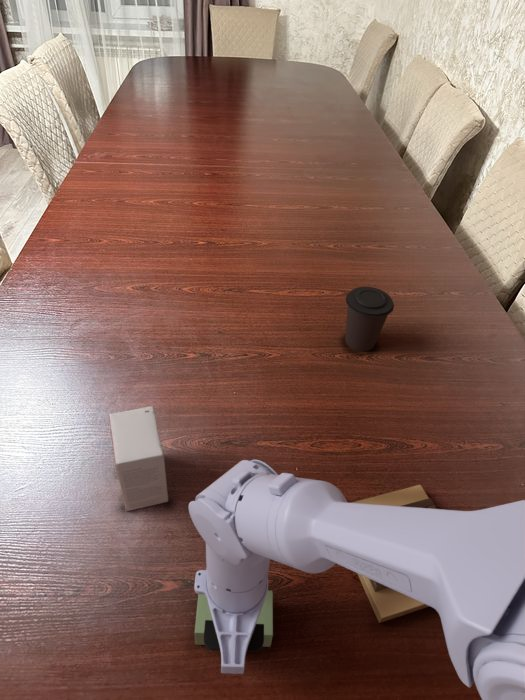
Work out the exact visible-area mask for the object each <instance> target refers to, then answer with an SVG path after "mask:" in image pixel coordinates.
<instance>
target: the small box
mask: <svg viewBox="0 0 525 700" xmlns="http://www.w3.org/2000/svg"><path fill="white" fill-rule="evenodd" d="M155 413H156V412H155V408H154V406H153V405H149V406H145V407H140V408H134V409H128V410H124V411H117V412H114V413H109V414H108V419H109V426H110V428H109V429H110V436H111V437H110V438H111V443H112V451H113V458H114V464H115V469H116V474H117V478H118V483H119V486H120V491H121V495H122V500H123V503H124V510H125V512H130V511H133V510H139V509H143V508H148V507H151V506H156V505H160V504H164V503H168V502H169V493H168V484H167V483H168V482H167V475H166V473H167V472H166V465H165V464H166V463H165V453H164V451H163V447H162V442H161V438H160V434H159V429H158V425H157V420H156V414H155Z"/></svg>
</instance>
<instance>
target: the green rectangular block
mask: <svg viewBox="0 0 525 700" xmlns="http://www.w3.org/2000/svg"><path fill="white" fill-rule="evenodd" d="M273 601H274V591H273V590H268V591H267V595H266V598H265V601H264V604H263V606H262V609H261V612H260V615H259V617H258V620H257V623H256V624H264V643H263V646H262V648H271V646H272V641H273V637H274V602H273ZM196 606H197V607H196V614H195V615H196V616H195V626H194V643H195V645H196V646H205V644H204V628H205V620H213V619H212V616H211V612H210V608H209V604H208V601H207V598H206V596H205V595H203V594H197V603H196Z"/></svg>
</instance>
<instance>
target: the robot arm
mask: <svg viewBox="0 0 525 700" xmlns="http://www.w3.org/2000/svg"><path fill="white" fill-rule="evenodd" d="M188 513H189V517H190V519H191V521H192V524H193V525H194V527H195V529H196V530H197V533H198V534H199V535H200V537H201V538H202V539H203V541H204V542H205V564H206V565H205V566H206V569H199V570H197V571H196V572H195V576H194V592H195V594H196V595H198V594H203V595H205V596H206V598H207V601H208V604H209V608H210V612H211V616H212V619H213V620H205V628H204V644H205V645H204V646H205V649H206V650H209V651H220V659H221V660H220V661H221V663H220V673H221V674H229V675H231V674H232V675H243V674H244V673H245V665H246V655H247V652H261V650H262V648H263V647H262V646H263V643H264V624H256V623H257V620H258V617H259V615H260V612H261V609H262V606H263V604H264V601H265V598H266V595H267V591H269V570H270V562H271V561H274V562H277V563H280V564H282V565H285V566H287V567H289V568H293V569H296V570H299V571H301V572H304V573H307V574H314V575H315V574H320V573H323V572H326V571H328V570H330V569H331V568H333V567H334V566H335V565H338V566H341V567H342V568H345V569H346V570H349V571H351V572H354V573H356V574H357V573H358V574H360V575H362V576H365V577H367V578H369V579H371V580H373V581H376V582H378V583H380V584H382V585H384V586H386V587H389V588H391V589H393V590H395V591H397V592H400V593H402V594H404V595H406V596H408V597H411V598H413V599H415V600H417V601H419V602H422V603H424V604H426V605H428V606H429V607H431V608H432V609H434V610H435V611H436V612H437V613H438V615H439V617H440V621H441V627H442V630H443V634H444V639H445V643H446V648H447V651H448V655H449V658H450V661H451V664H452V665H453V668H454V669H455V672H456V674H457V676H458V678H459V680H460V681H461V682H462V683H463V685H465V686H466V687H468V688H471V687H472V685H473V684H474V685H475V688H476V690H477V692H478V695H479V697H480V698H481V700H525V499H522V500H517V501H512V502H509V503H505V504H499V505H495V506H490V507H486V508H482V509H477V510H476V509H475V510H457V509H443V508H442V509H440V508H437V509H431V508H417V507H403V506H389V505H375V504H361V503H351V502H349V501H347V499H346V497H345V495H344V493H342V490H340V489H339V488H338V487H337V486H336V485H335V484H333V483H330V482H328V481H325V480H319V479H313V478H305V477H296V476H295V474H293V473H288V472H281V473H280V474H278V472H276V471H275V469H274V468H272V467H271V466H270V465H268V463H266V462H264V461H262V460H259V459H251V460H249V459H243V460H242V459H241V460H240V461H239V462H237V464H235V465H234V466H233V467H231V468H230V469H228V470H227V471H226V472H225V473H224V474H223V475H221V476H220V477H218V478H217V479H216V480H215V481H213V482H212V483H211V484H210V485H208V486H207V487H206V488H205V489H204V490H202V491H200V492H199V493H198V494H197V495H196V496H195V499H194V500H191V501H190V502H189V503H188ZM358 574H357V575H358Z"/></svg>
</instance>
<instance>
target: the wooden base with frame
mask: <svg viewBox="0 0 525 700" xmlns="http://www.w3.org/2000/svg"><path fill="white" fill-rule="evenodd" d="M350 503H361V504H375V505H389V506H403V507H417V508H431V509H438V508H437V507H436V505H435V503H434V500H433V499H432V498H431V497H429V496H428V494H427V493H426V491H425V489H424V487H423V486H422V485H421V484H416V485H413V486H409V487H405V488H403V489H402V488H401V489H397V490H394V491H390V492H387V493H382V494H378V495H375V496H370V497H367V498H363V499H360V500H359V499H358V500H355V501H351V502H350ZM356 574H357V577H358V579H359V581H360V583H361V586H362V587H363V590H364V592H365V595H366V596H367V599H368V601H369V604H370V606H371V608H372V610H373V613H374V615H375V617H376V619H377V622H378V623H379V624H381V623H384V622H387V621H390V620H393V619H396V618H399V617H402V616H405V615H408V614H411V613H414V612H418V611H420V610H424V609H426V608H429V607H430V606H428V605H426V604H424V603H422V602H419V601H417V600H415V599H413V598H411V597H408V596H406V595H404V594H402V593H400V592H397V591H395V590H393V589H391V588H389V587H386V586H384V585H382V584H380V583H378V582H376V581H373V580H371V579H369V578H367V577H365V576H362V575H360V574H358V573H356Z"/></svg>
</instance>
